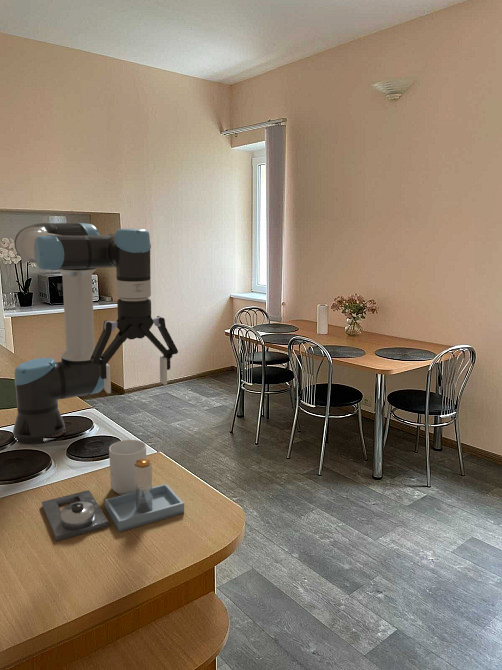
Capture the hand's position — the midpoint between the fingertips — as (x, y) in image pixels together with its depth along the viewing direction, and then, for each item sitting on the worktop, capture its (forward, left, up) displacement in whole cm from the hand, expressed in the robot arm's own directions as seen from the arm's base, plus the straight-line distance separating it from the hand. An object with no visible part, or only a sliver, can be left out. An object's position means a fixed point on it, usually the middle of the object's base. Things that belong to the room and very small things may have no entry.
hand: (136, 387), depth 125 cm
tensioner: (+3, -16, -27) cm, 32 cm away
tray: (+9, -2, -27) cm, 29 cm away
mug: (-5, -1, -28) cm, 28 cm away
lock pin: (+9, -2, -27) cm, 28 cm away
